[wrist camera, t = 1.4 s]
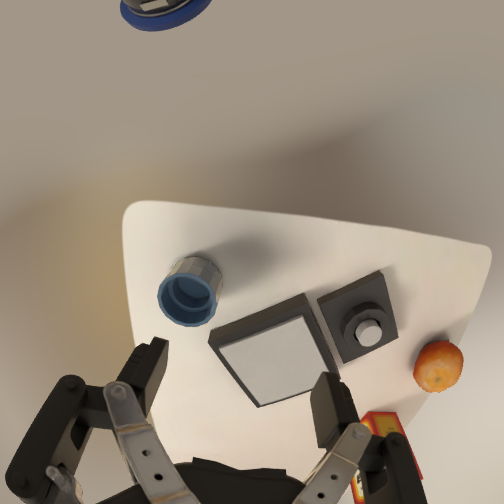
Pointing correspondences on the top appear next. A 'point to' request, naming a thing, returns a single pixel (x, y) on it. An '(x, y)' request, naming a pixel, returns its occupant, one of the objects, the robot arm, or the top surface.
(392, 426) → the baking soda box
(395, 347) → the top surface
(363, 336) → the button
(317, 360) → the scale
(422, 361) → the fruit
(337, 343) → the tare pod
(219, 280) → the cup
